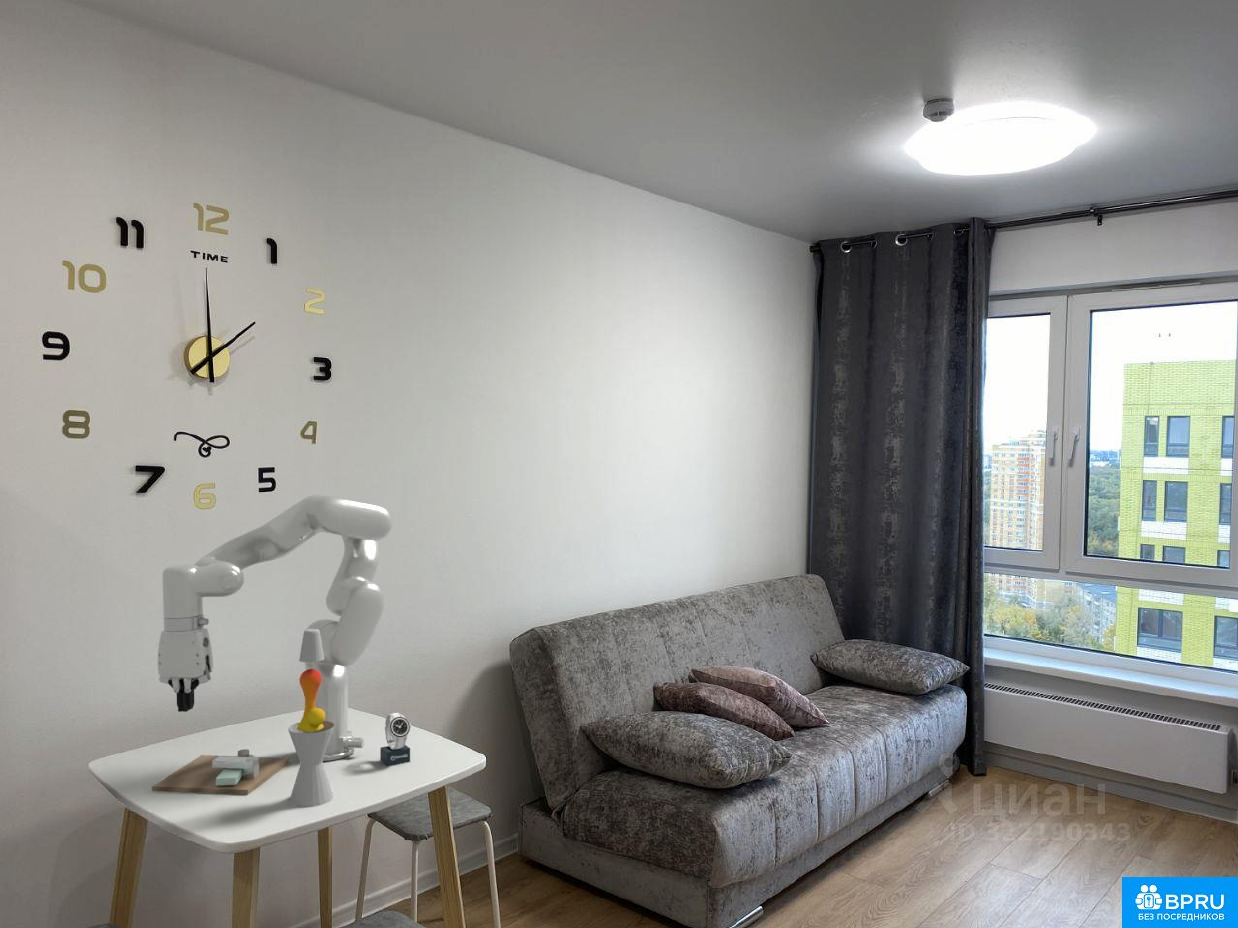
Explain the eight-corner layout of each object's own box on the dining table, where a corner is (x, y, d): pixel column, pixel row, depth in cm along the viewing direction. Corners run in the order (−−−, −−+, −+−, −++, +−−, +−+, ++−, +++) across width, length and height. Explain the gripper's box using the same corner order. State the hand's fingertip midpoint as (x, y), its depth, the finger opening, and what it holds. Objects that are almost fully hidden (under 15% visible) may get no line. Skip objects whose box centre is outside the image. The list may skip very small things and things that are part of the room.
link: (236, 761, 208) (236, 754, 208) (256, 760, 209) (256, 754, 209) (214, 785, 193) (214, 778, 193) (236, 784, 194) (236, 777, 194)
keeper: (259, 774, 201) (259, 757, 201) (253, 779, 198) (253, 761, 198) (219, 772, 202) (219, 756, 202) (212, 777, 199) (212, 760, 199)
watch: (390, 768, 208) (390, 720, 208) (377, 758, 215) (377, 711, 215) (413, 763, 211) (413, 716, 211) (400, 754, 218) (400, 708, 218)
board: (289, 762, 212) (289, 743, 212) (248, 794, 192) (248, 773, 192) (201, 759, 213) (201, 740, 213) (151, 790, 193) (151, 770, 193)
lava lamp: (278, 801, 188) (279, 630, 188) (314, 787, 196) (314, 623, 196) (308, 810, 184) (308, 635, 183) (343, 796, 191) (344, 628, 191)
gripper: (226, 620, 197) (228, 705, 198) (159, 620, 198) (162, 704, 199) (208, 627, 190) (210, 715, 190) (139, 627, 191) (141, 714, 192)
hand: (185, 709), depth 195 cm, fingers closed
